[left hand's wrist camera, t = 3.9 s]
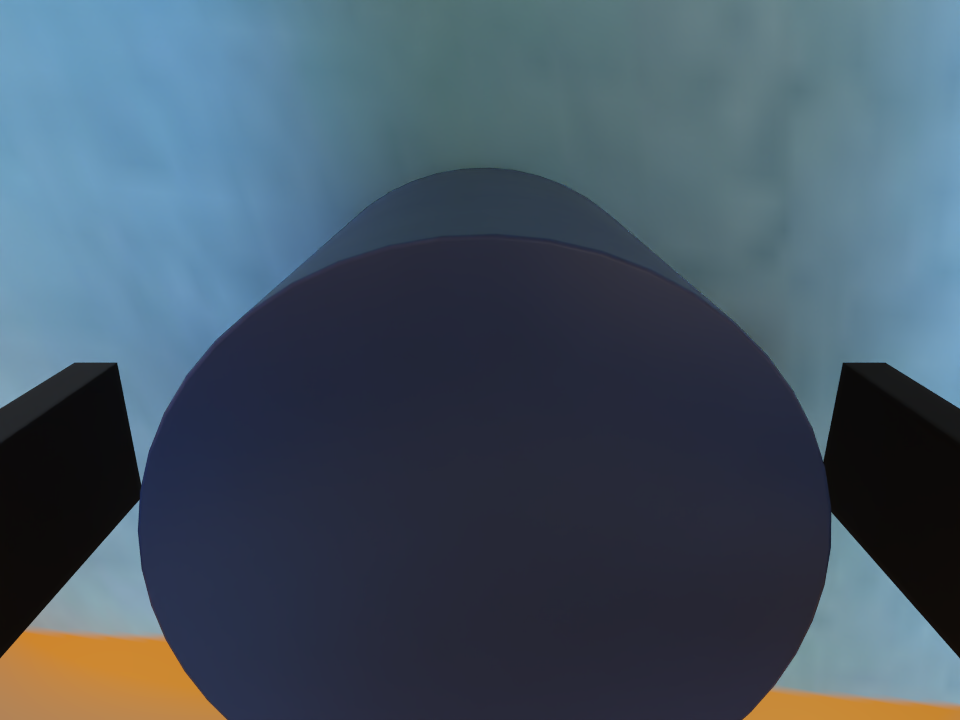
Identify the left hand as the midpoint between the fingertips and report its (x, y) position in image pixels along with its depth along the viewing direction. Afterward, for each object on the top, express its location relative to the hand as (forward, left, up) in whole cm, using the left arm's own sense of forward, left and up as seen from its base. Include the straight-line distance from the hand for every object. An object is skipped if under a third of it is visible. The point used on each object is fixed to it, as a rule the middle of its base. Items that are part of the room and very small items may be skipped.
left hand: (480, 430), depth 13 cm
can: (0, 0, -4) cm, 4 cm away
